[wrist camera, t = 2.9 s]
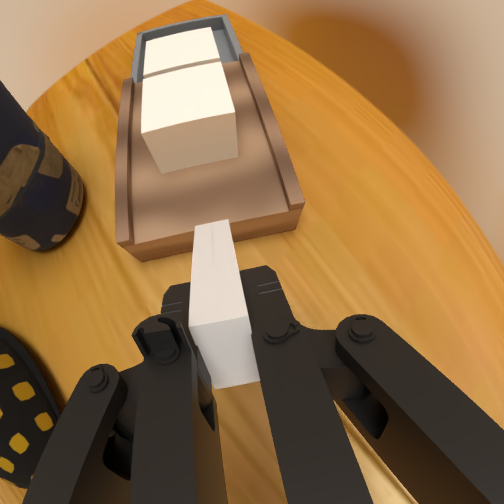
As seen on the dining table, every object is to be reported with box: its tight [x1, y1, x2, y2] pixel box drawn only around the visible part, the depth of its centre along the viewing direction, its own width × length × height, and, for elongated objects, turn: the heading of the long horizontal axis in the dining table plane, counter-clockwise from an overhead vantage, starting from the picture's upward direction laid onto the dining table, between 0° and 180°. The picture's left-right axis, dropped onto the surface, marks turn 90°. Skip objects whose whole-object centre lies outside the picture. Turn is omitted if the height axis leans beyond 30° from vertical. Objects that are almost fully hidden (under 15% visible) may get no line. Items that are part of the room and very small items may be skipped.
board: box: [115, 52, 305, 262], centre depth 23 cm, size 18×13×5 cm
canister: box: [0, 81, 83, 251], centre depth 16 cm, size 10×10×18 cm
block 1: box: [143, 27, 220, 79], centre depth 21 cm, size 6×6×5 cm
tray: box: [131, 14, 243, 84], centre depth 29 cm, size 15×13×3 cm
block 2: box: [141, 62, 238, 174], centre depth 19 cm, size 6×6×5 cm
